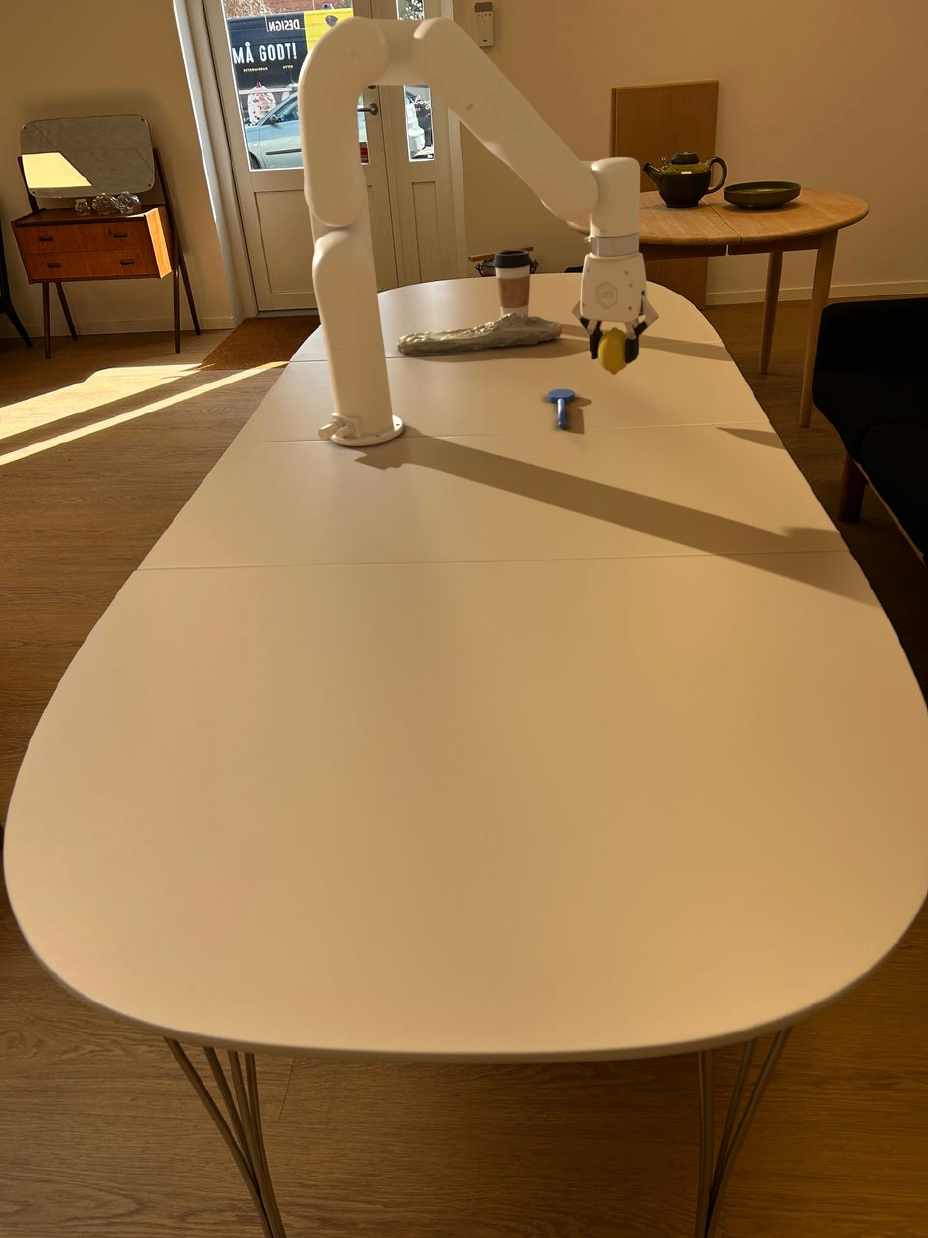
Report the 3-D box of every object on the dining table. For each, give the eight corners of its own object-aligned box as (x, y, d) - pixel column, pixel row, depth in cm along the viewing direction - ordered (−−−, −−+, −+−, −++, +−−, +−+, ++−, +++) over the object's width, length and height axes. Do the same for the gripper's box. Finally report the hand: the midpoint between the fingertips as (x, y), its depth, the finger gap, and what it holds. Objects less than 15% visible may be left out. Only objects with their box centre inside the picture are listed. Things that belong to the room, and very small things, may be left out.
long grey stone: (399, 351, 203) (399, 367, 195) (395, 327, 200) (394, 343, 192) (559, 328, 202) (565, 343, 194) (557, 303, 199) (563, 318, 191)
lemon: (629, 368, 160) (630, 321, 156) (631, 379, 155) (632, 330, 151) (597, 370, 161) (597, 323, 156) (598, 380, 156) (597, 332, 152)
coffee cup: (492, 325, 210) (488, 255, 202) (502, 315, 217) (498, 247, 209) (528, 325, 208) (525, 255, 200) (537, 315, 214) (534, 246, 206)
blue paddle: (576, 428, 153) (576, 421, 152) (547, 430, 154) (547, 423, 153) (574, 393, 168) (574, 386, 167) (547, 394, 168) (547, 388, 168)
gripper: (555, 247, 149) (558, 360, 158) (655, 252, 140) (651, 371, 150) (577, 238, 154) (579, 347, 163) (675, 242, 145) (671, 357, 155)
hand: (614, 357), depth 156 cm, fingers closed on lemon, 5 cm apart
